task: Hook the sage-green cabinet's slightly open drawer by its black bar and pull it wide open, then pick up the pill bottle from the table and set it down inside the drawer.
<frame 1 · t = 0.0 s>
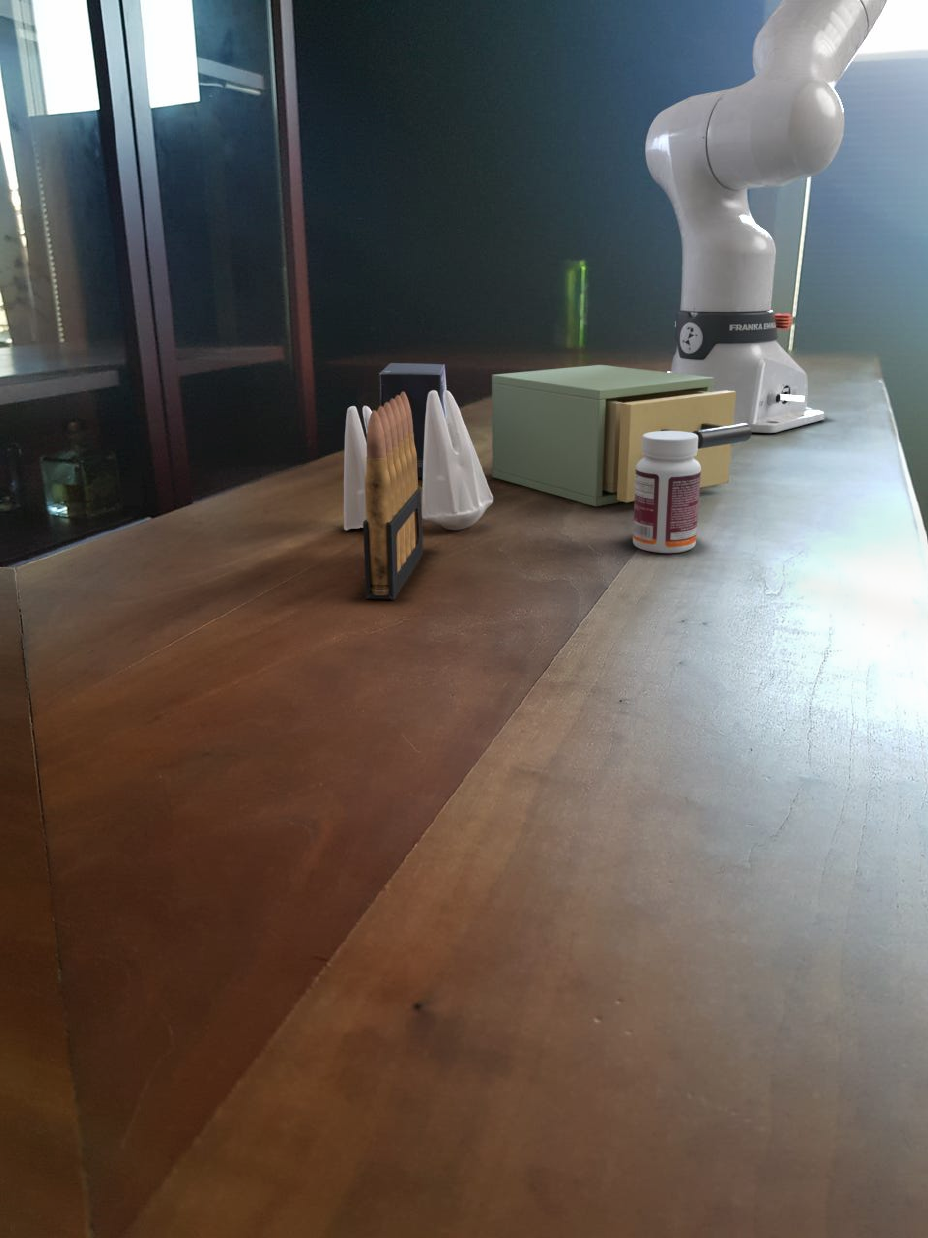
shaker set: (419, 528, 78), on the worktop
cabinet: (596, 481, 93), on the worktop
drawer: (643, 438, 87), point 5 cm above the worktop, slide at 2.0 cm
pill bottle: (663, 547, 72), on the worktop
small box: (416, 470, 100), on the worktop
ammunition clip: (396, 577, 66), on the worktop
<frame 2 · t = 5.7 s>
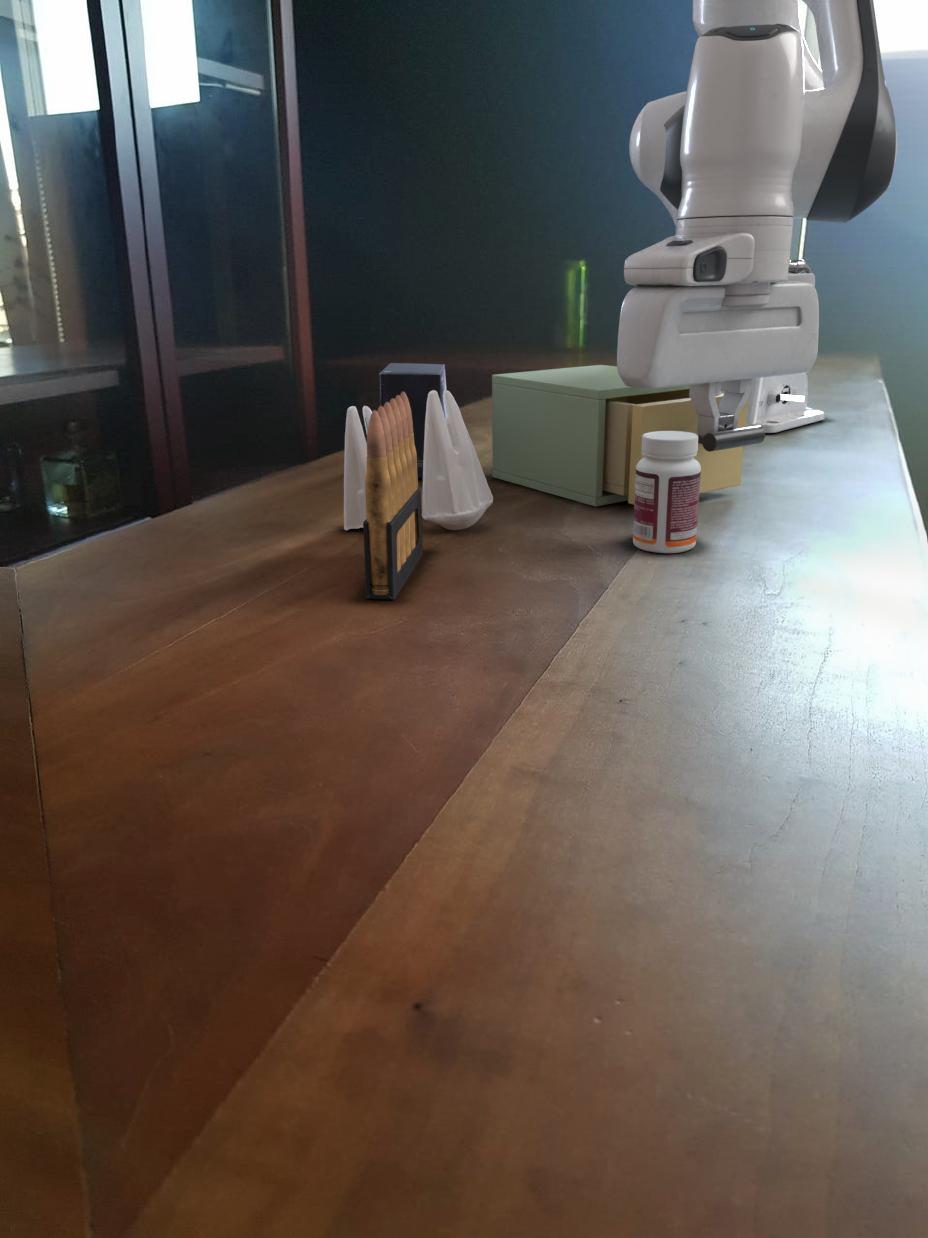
hand: (716, 436, 79), 6 cm above the worktop, tool pointing down, fingers closed
drawer: (654, 440, 86), point 5 cm above the worktop, slide at 3.4 cm, touching gripper
everything else where it was.
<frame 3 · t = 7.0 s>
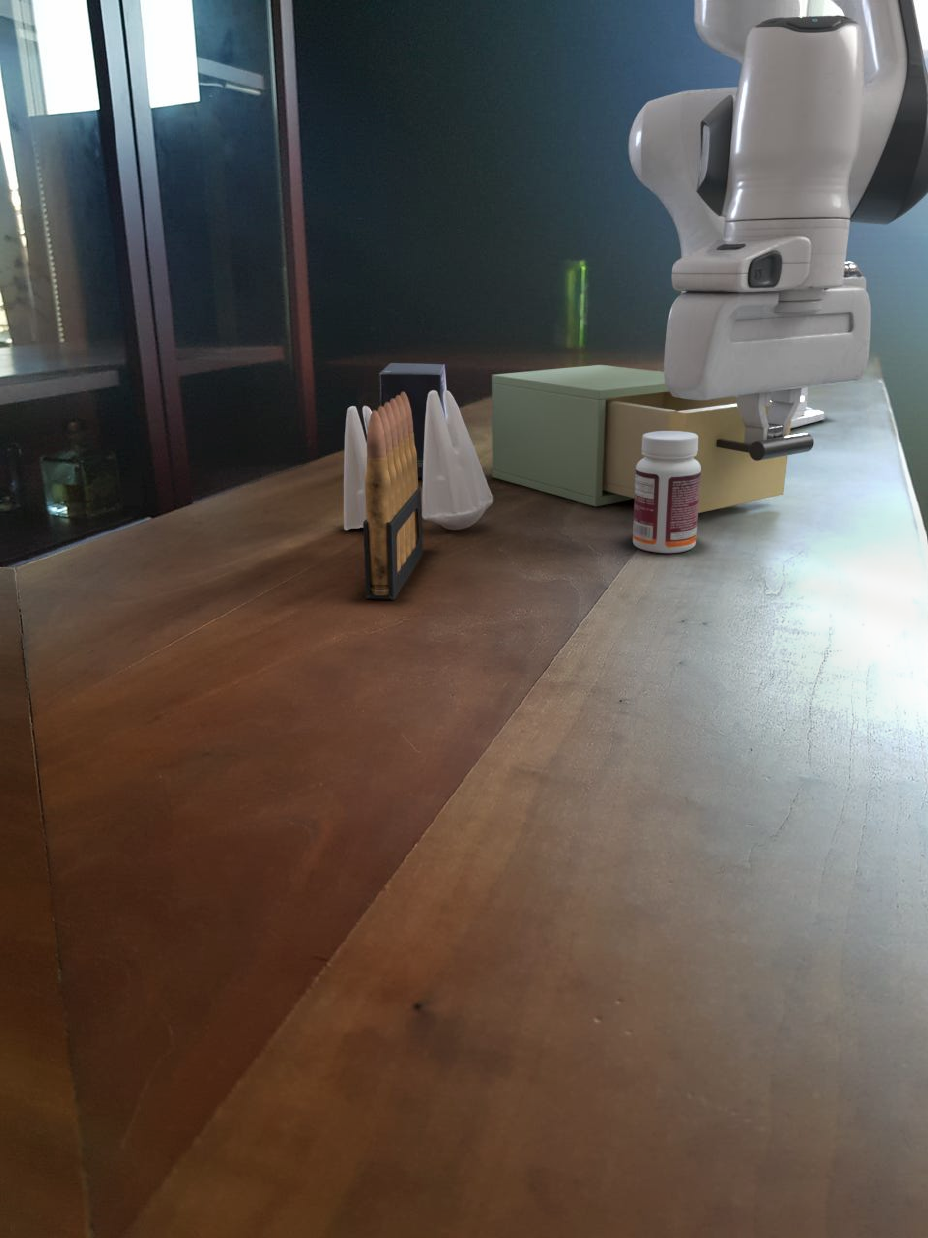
hand: (764, 447, 76), 6 cm above the worktop, tool pointing down, fingers closed
drawer: (694, 448, 82), point 5 cm above the worktop, slide at 8.2 cm
everything else where it was.
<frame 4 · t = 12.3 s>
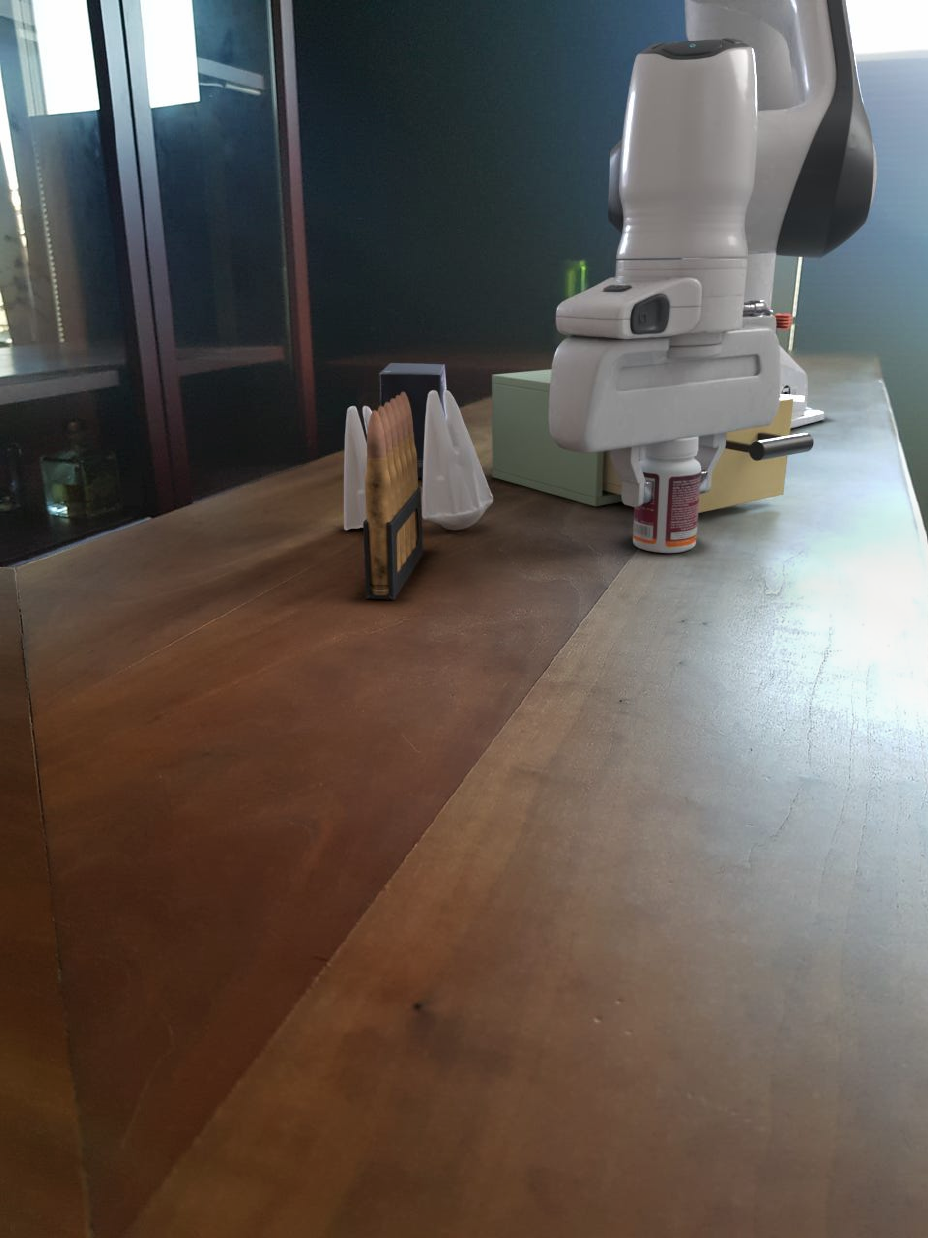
hand: (666, 498, 71), 4 cm above the worktop, tool pointing down, fingers closed on pill bottle, 5 cm apart
pill bottle: (663, 547, 72), on the worktop, touching gripper
everything else where it was.
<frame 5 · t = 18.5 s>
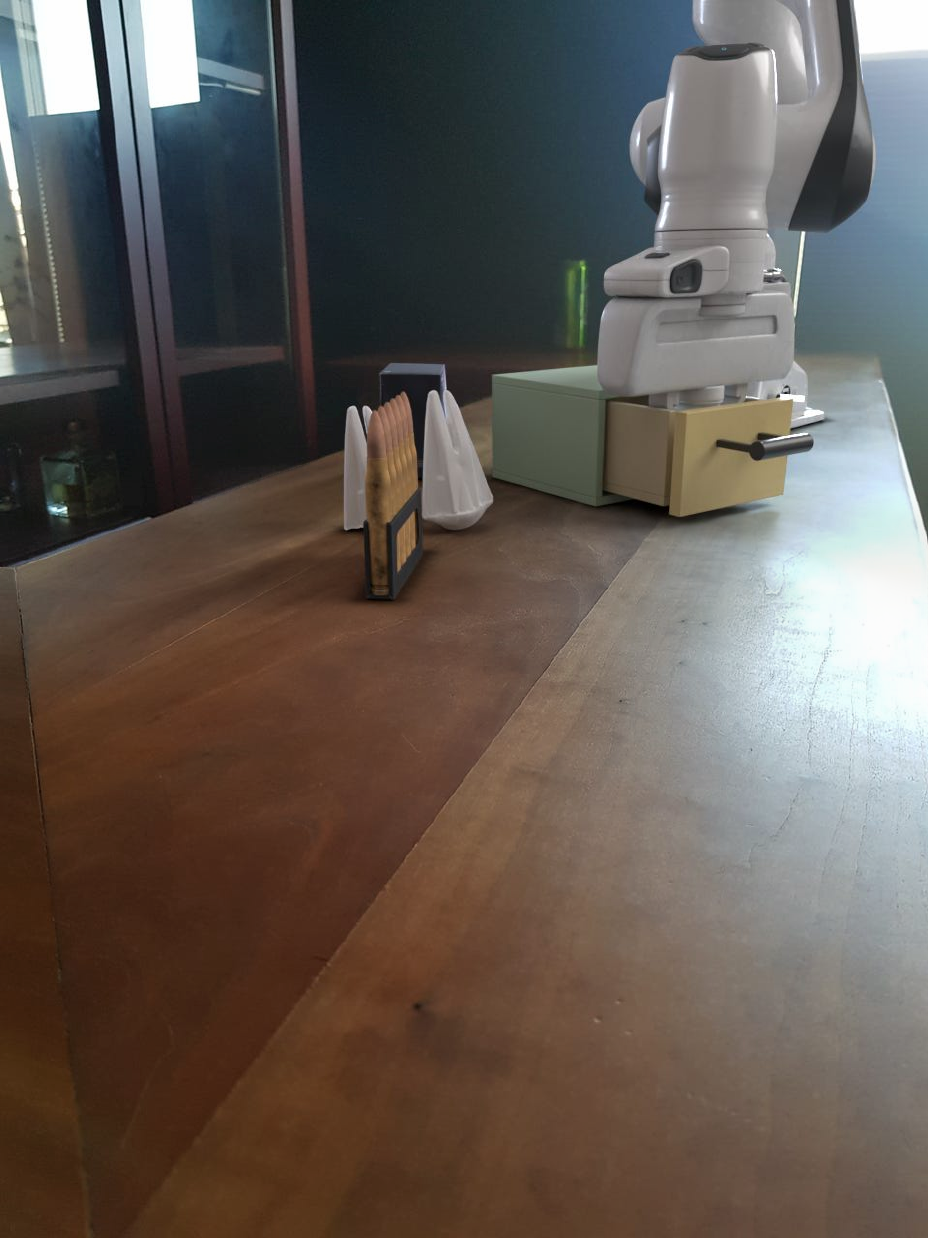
hand: (695, 441, 82), 6 cm above the worktop, tool pointing down, fingers closed on pill bottle, 5 cm apart
drawer: (694, 448, 82), point 5 cm above the worktop, slide at 8.2 cm, touching gripper
pill bottle: (692, 484, 83), point 2 cm above the worktop, touching gripper
everything else where it was.
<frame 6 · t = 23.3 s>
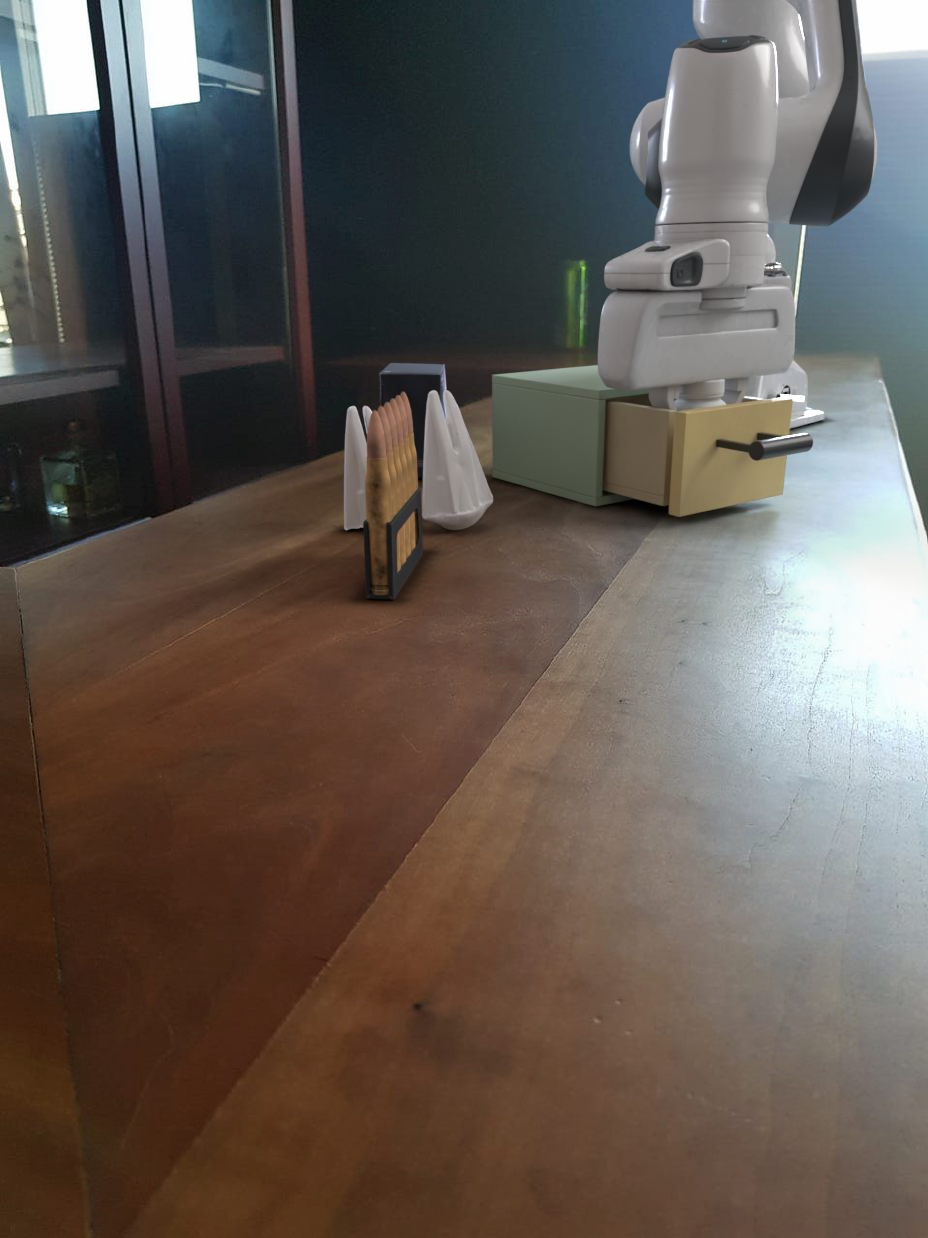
hand: (695, 435, 81), 6 cm above the worktop, tool pointing down, fingers closed on pill bottle, 5 cm apart
drawer: (694, 448, 82), point 5 cm above the worktop, slide at 8.2 cm
pill bottle: (693, 478, 83), point 2 cm above the worktop, touching gripper
everything else where it was.
when the fingers open (7 cm above the worktop, at t = 27.0 s): pill bottle stays where it is, resting on drawer.
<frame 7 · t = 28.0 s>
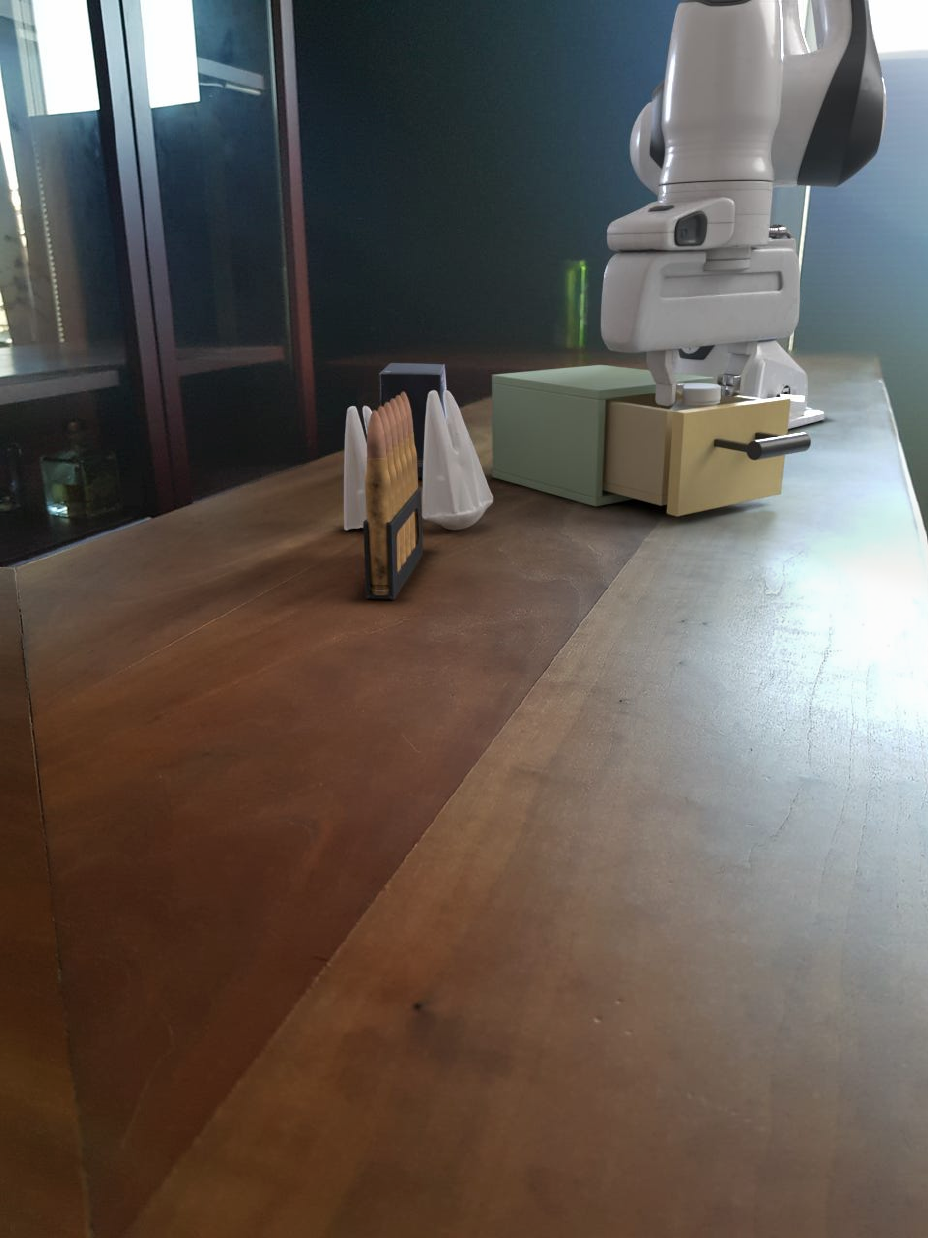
hand: (699, 400, 81), 9 cm above the worktop, tool pointing down, fingers open, 6 cm apart
drawer: (692, 447, 82), point 5 cm above the worktop, slide at 7.9 cm, touching pill bottle
pill bottle: (689, 485, 83), point 2 cm above the worktop, touching drawer
everything else where it was.
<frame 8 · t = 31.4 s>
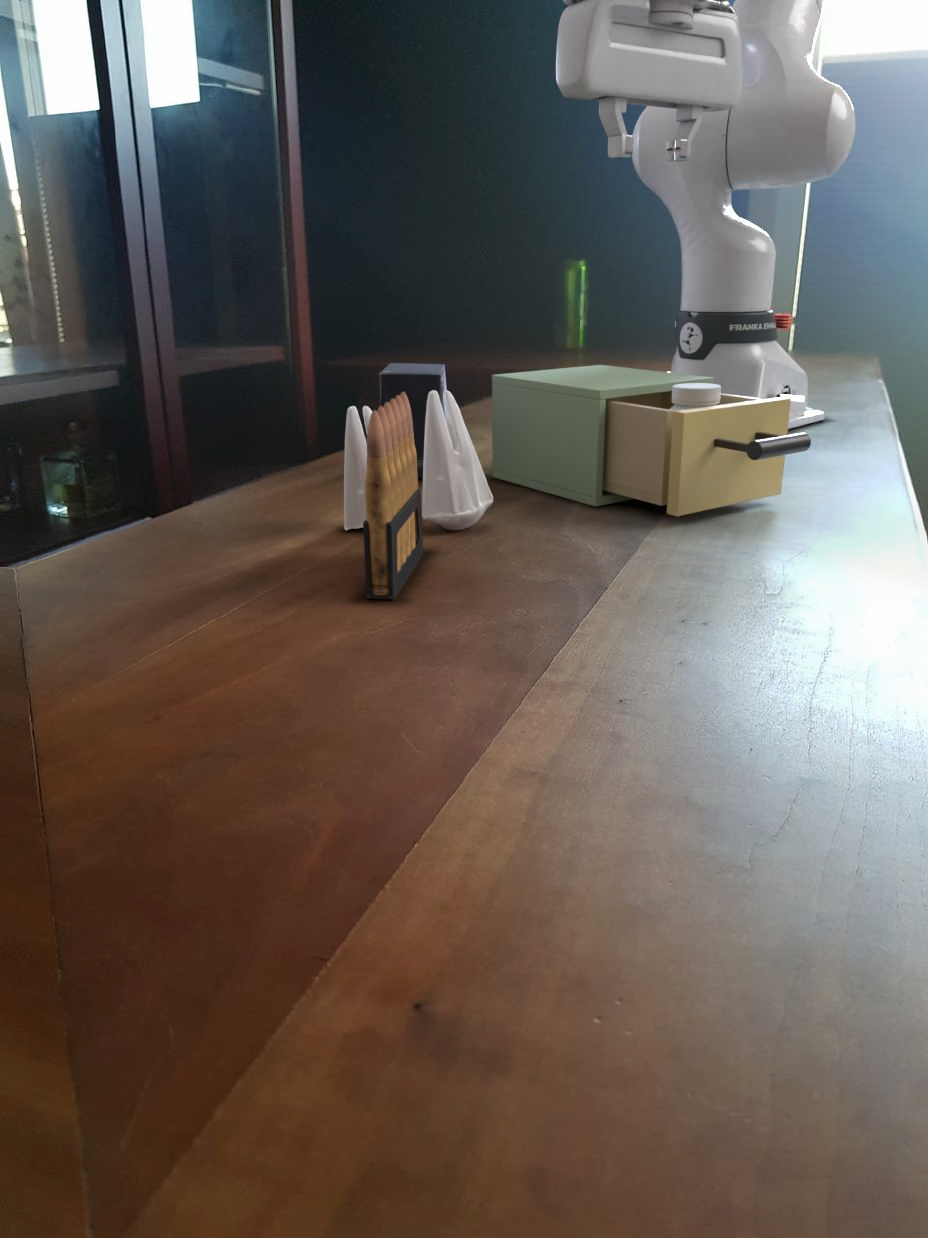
hand: (649, 159, 88), 29 cm above the worktop, tool pointing down, fingers open, 6 cm apart
nothing on the worktop moved.
at the end: drawer slide at 7.9 cm; pill bottle inside the target area in the drawer (0.3 cm from its centre), point 1.8 cm above the cabinet's base; pill bottle tilted 0° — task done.
